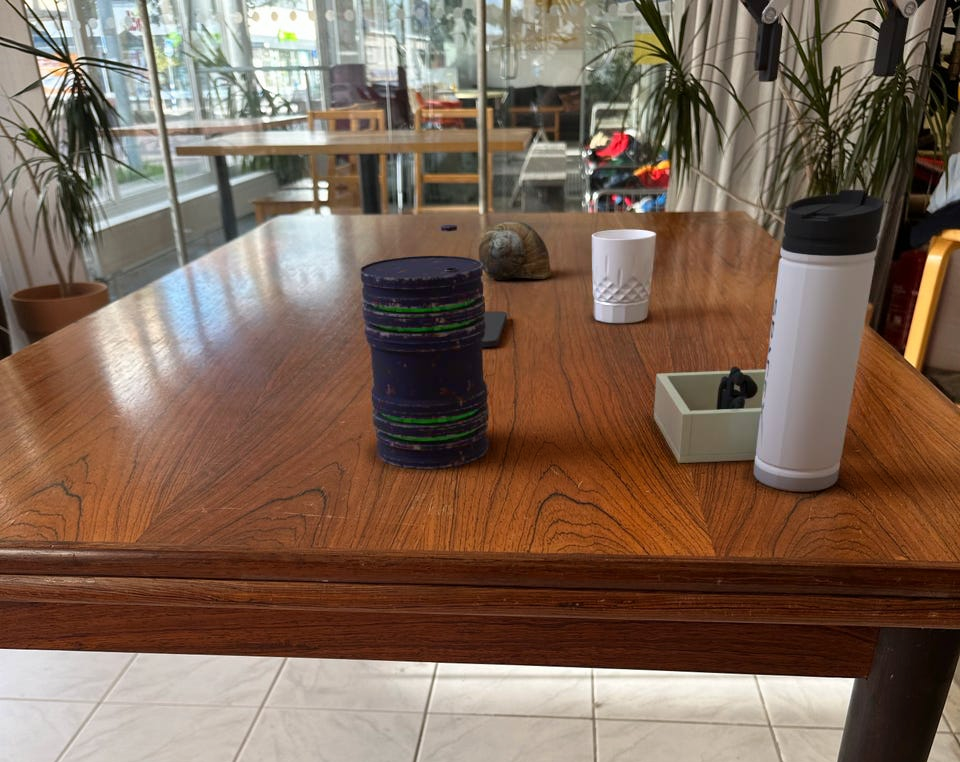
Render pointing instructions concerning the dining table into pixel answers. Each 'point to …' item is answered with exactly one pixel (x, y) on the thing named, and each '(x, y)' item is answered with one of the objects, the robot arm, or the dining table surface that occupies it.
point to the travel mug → (816, 338)
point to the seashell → (514, 252)
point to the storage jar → (427, 359)
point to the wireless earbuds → (730, 395)
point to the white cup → (622, 274)
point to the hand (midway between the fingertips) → (825, 78)
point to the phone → (493, 327)
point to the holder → (706, 417)
